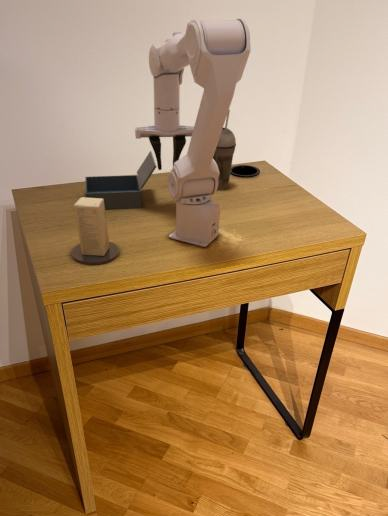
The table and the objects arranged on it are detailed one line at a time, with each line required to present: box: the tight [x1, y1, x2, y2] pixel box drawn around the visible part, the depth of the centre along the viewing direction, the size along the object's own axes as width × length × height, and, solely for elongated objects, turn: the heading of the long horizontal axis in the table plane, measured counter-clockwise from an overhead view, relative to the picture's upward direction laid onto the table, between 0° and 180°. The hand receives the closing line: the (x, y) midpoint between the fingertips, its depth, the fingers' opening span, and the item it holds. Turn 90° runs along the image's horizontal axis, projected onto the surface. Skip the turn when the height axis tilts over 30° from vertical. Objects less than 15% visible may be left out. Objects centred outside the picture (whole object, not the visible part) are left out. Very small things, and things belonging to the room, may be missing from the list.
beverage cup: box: [213, 109, 237, 191], centre depth 132 cm, size 7×7×20 cm
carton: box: [84, 174, 143, 211], centre depth 127 cm, size 14×12×4 cm
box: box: [73, 196, 110, 256], centre depth 102 cm, size 5×4×11 cm
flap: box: [136, 150, 158, 190], centre depth 125 cm, size 7×12×1 cm
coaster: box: [71, 241, 120, 266], centre depth 106 cm, size 10×10×1 cm
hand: (167, 168), depth 119 cm, fingers open, 3 cm apart
